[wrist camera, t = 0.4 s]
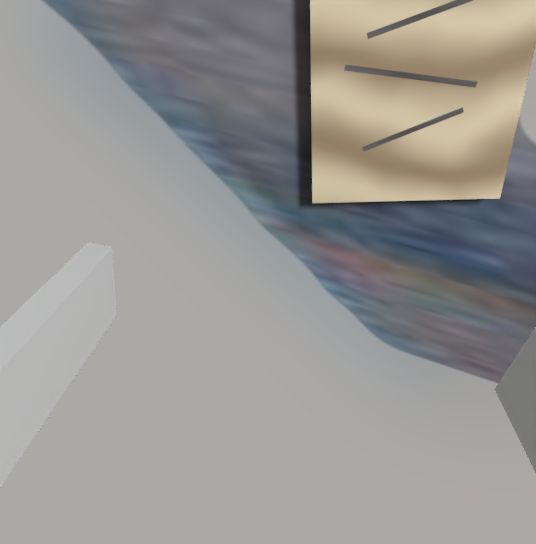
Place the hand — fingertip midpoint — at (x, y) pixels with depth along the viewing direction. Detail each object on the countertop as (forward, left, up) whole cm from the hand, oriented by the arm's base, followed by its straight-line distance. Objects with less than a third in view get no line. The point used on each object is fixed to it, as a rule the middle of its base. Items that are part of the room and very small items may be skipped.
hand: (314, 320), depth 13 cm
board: (-5, +8, -26) cm, 28 cm away
